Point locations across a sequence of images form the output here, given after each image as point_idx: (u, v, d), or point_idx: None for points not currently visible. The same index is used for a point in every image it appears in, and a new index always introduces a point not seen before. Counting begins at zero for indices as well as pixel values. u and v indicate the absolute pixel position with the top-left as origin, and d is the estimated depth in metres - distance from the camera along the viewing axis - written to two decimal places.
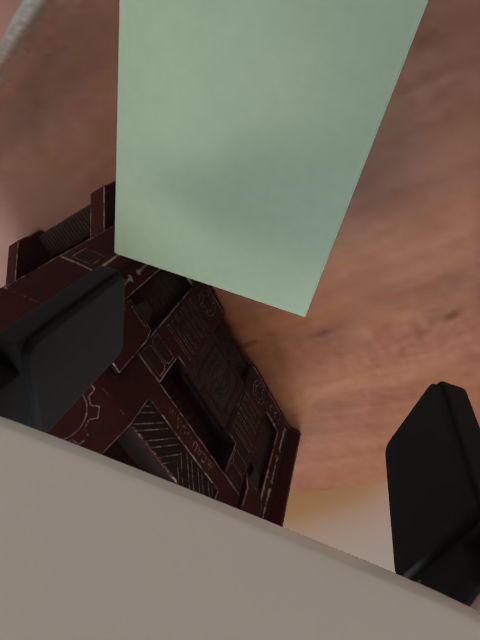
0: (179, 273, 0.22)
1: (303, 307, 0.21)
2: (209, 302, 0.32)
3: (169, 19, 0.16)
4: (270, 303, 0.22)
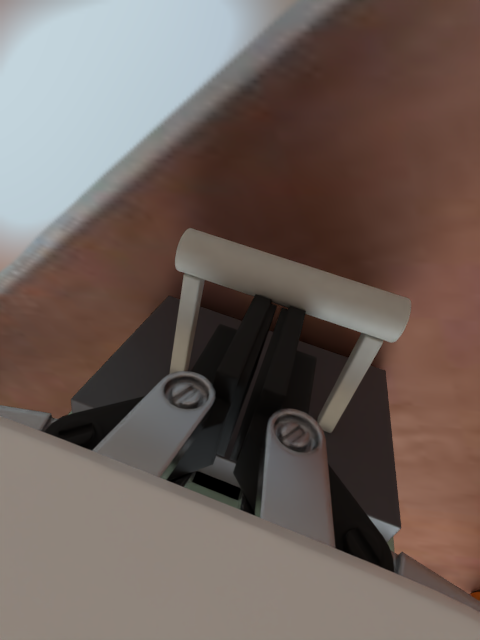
0: None
1: None
2: None
3: None
4: None
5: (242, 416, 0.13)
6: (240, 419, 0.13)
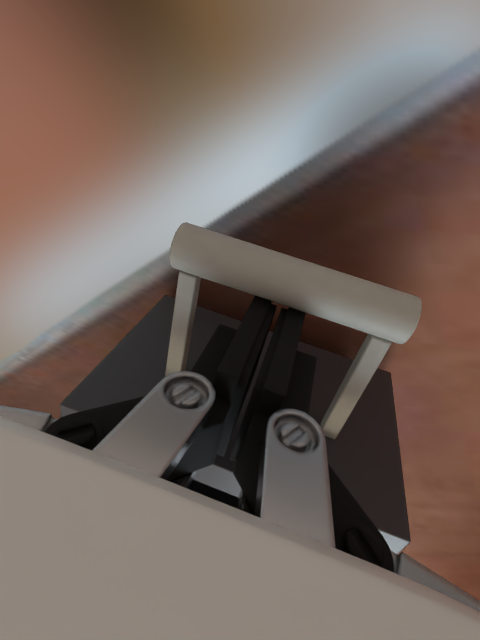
0: None
1: None
2: None
3: None
4: None
5: (241, 421, 0.13)
6: (239, 425, 0.12)
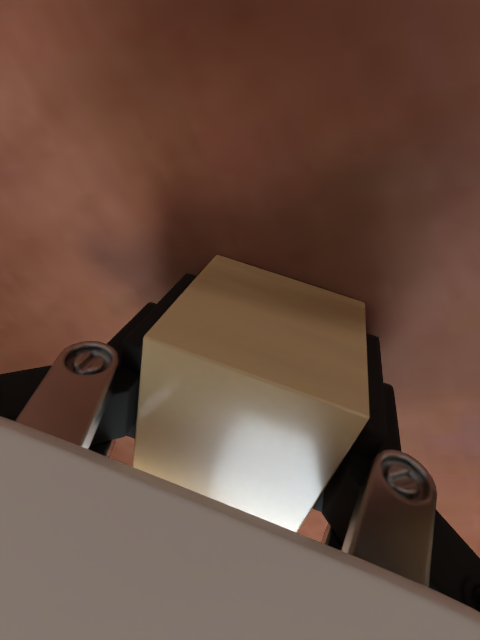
0: None
1: None
2: None
3: None
4: None
5: None
6: None
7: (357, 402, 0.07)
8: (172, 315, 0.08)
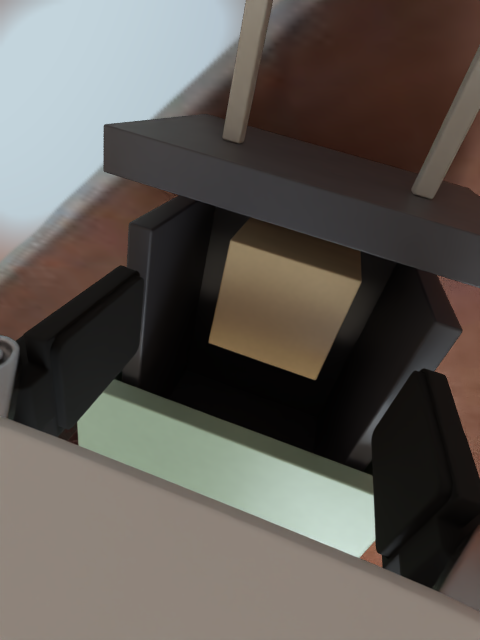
0: None
1: None
2: None
3: (129, 459, 0.15)
4: None
5: (321, 172, 0.10)
6: (319, 173, 0.10)
7: (354, 275, 0.12)
8: (243, 232, 0.13)
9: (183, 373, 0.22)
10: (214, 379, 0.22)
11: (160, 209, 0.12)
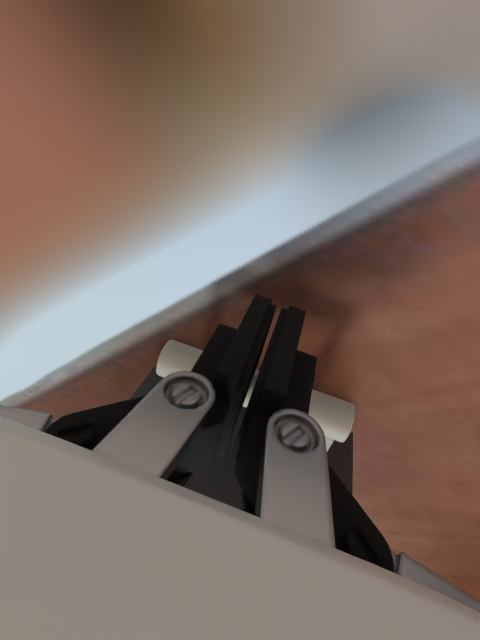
0: None
1: None
2: None
3: None
4: None
5: (218, 491, 0.15)
6: (216, 494, 0.15)
7: None
8: None
9: None
10: None
11: None
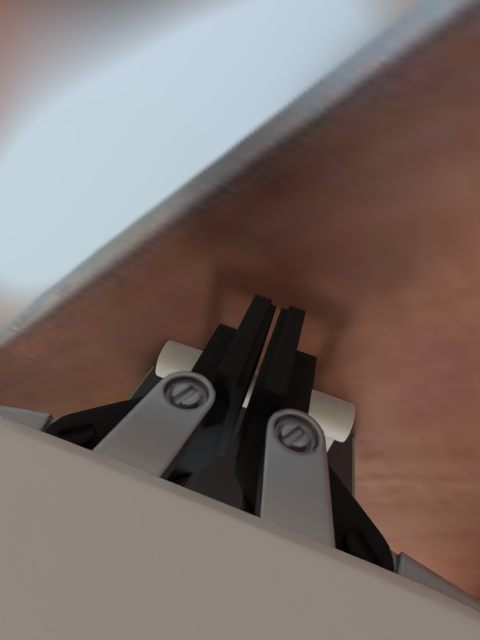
0: None
1: None
2: None
3: None
4: None
5: (218, 491, 0.15)
6: (216, 495, 0.15)
7: None
8: None
9: None
10: None
11: None
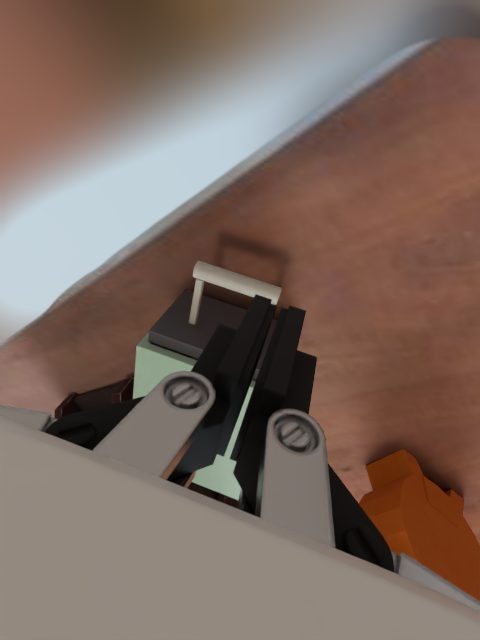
0: None
1: (238, 497, 0.37)
2: None
3: None
4: (220, 492, 0.37)
5: None
6: None
7: None
8: None
9: None
10: None
11: None
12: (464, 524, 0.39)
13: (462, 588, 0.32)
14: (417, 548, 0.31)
